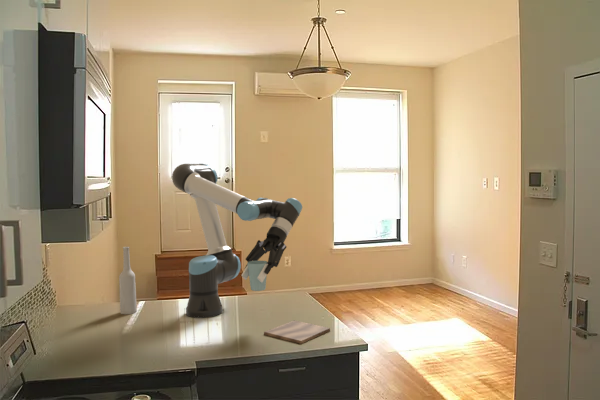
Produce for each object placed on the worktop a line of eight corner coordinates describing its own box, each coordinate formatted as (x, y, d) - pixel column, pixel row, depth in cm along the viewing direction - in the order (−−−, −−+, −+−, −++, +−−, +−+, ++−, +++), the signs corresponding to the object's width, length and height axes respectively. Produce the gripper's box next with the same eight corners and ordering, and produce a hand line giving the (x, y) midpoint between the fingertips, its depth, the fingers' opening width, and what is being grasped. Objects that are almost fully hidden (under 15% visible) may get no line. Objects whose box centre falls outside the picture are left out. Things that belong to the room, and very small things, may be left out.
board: (264, 334, 177) (264, 331, 177) (293, 322, 191) (293, 320, 190) (301, 343, 167) (301, 340, 167) (330, 330, 180) (329, 328, 180)
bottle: (137, 313, 209) (134, 247, 207) (120, 315, 206) (118, 248, 205) (136, 309, 215) (133, 245, 214) (119, 311, 212) (117, 246, 211)
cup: (263, 286, 192) (262, 259, 192) (271, 289, 186) (271, 262, 185) (245, 288, 189) (244, 261, 188) (253, 292, 182) (252, 264, 181)
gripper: (303, 239, 192) (277, 288, 180) (264, 235, 205) (237, 281, 193) (294, 226, 187) (267, 276, 176) (255, 224, 200) (227, 270, 188)
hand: (251, 278), depth 184 cm, fingers closed on cup, 8 cm apart
